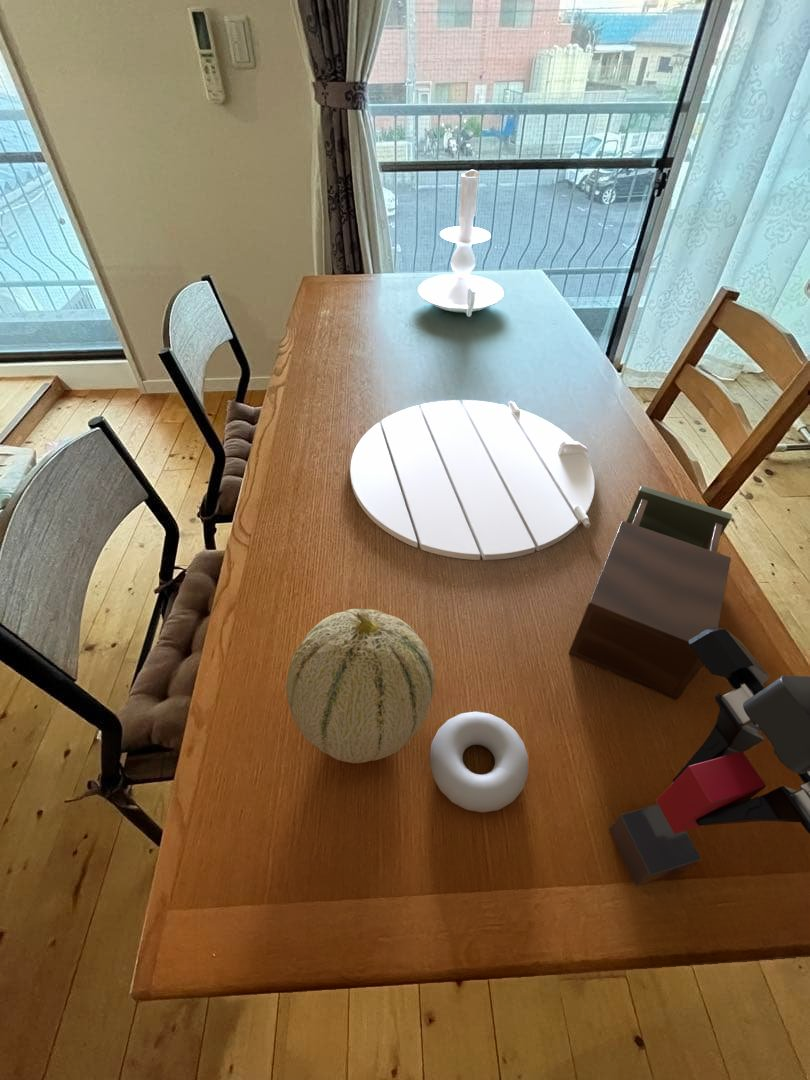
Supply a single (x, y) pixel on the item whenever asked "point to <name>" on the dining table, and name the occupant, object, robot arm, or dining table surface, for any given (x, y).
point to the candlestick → (463, 261)
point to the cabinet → (652, 609)
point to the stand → (652, 845)
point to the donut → (467, 785)
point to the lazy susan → (472, 479)
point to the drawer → (678, 518)
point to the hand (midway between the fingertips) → (686, 802)
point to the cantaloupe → (360, 685)
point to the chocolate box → (709, 790)
